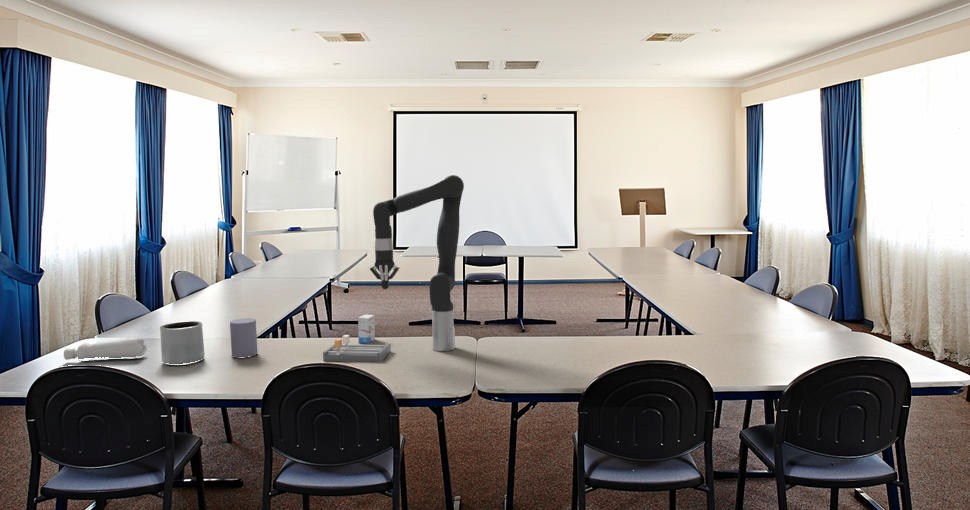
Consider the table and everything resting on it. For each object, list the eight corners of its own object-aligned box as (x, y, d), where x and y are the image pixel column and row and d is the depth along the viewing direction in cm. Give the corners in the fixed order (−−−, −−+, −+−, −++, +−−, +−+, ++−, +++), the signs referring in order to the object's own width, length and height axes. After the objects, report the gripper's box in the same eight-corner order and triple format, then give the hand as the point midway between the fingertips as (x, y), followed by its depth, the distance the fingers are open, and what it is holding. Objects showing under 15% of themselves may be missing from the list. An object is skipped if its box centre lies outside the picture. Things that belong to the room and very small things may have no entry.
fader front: (342, 350, 268) (341, 338, 268) (339, 352, 265) (339, 340, 265) (337, 350, 269) (337, 338, 268) (335, 352, 266) (334, 340, 265)
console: (390, 351, 276) (390, 343, 276) (380, 361, 261) (380, 353, 260) (336, 350, 279) (336, 342, 279) (323, 360, 263) (322, 352, 263)
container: (262, 355, 274) (260, 320, 272) (238, 360, 267) (236, 324, 265) (250, 351, 281) (248, 317, 279) (227, 355, 274) (225, 321, 272)
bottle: (149, 347, 278) (73, 353, 273) (143, 332, 272) (65, 338, 267) (144, 363, 271) (66, 369, 266) (138, 348, 265) (58, 355, 260)
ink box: (368, 343, 291) (367, 318, 290) (358, 343, 292) (357, 317, 291) (375, 339, 300) (374, 314, 299) (365, 338, 301) (364, 314, 300)
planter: (213, 358, 270) (211, 321, 269) (184, 368, 255) (181, 330, 254) (183, 355, 276) (180, 319, 274) (152, 365, 260) (150, 327, 259)
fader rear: (349, 346, 275) (349, 334, 275) (347, 348, 272) (347, 336, 272) (345, 346, 275) (344, 334, 275) (343, 348, 272) (342, 336, 272)
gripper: (401, 247, 277) (402, 287, 279) (371, 248, 278) (372, 287, 280) (397, 249, 269) (398, 290, 271) (366, 249, 271) (367, 290, 273)
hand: (385, 288), depth 276 cm, fingers closed
